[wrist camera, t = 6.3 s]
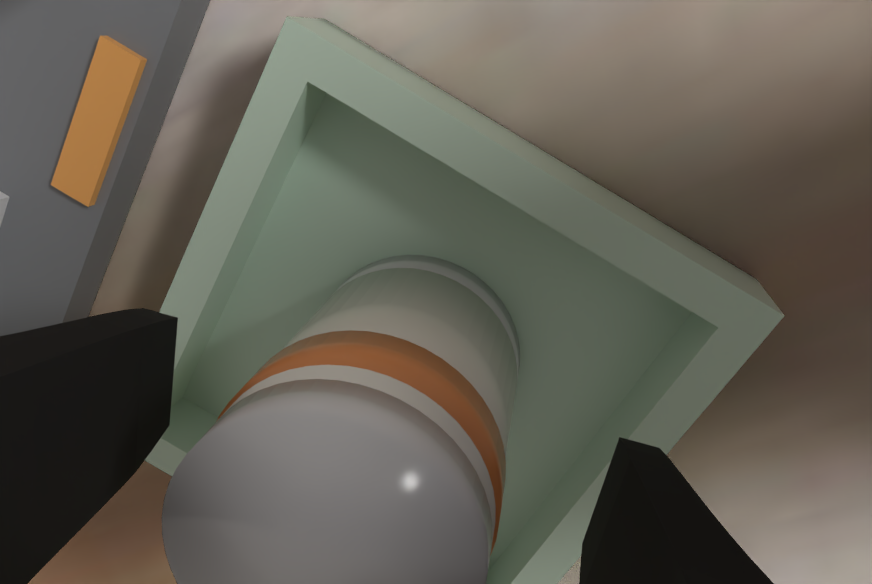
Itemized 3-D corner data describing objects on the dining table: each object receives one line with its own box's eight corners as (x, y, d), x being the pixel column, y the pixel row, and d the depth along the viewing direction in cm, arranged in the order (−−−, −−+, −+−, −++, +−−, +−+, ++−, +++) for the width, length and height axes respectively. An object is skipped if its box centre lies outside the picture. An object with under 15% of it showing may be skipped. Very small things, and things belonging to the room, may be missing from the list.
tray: (756, 279, 13) (784, 315, 11) (498, 597, 16) (490, 661, 15) (324, 18, 13) (287, 16, 11) (153, 395, 16) (105, 437, 14)
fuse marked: (544, 279, 13) (524, 461, 8) (498, 465, 15) (453, 729, 9) (331, 231, 14) (165, 369, 8) (307, 415, 15) (152, 639, 10)
